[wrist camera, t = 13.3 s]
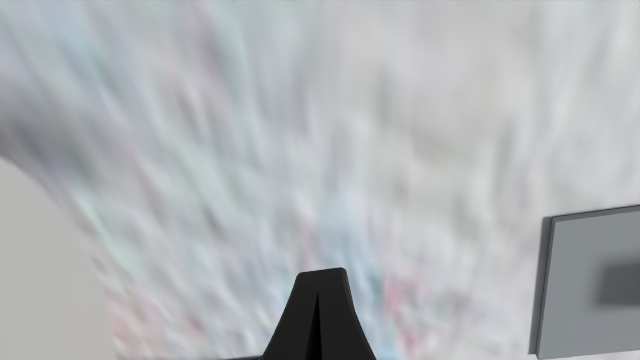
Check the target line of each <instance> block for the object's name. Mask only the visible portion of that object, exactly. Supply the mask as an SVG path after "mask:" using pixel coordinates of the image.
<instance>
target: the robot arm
mask: <svg viewBox="0 0 640 360" xmlns="http://www.w3.org/2000/svg"><path fill="white" fill-rule="evenodd" d="M260 360H376V358H375V356H374V354H373V352H372V349H371V347H370V345H369V343H368V341H367V339H366V337H365V334H364V332H363V330H362V327H361V325H360V322H359V320H358V317H357V315H356V312H355V309H354V305H353V300H352V295H351V291H350V286H349V282H348V277H347V272H346V270H345V269H344V268H342V267H340V268H332V269H325V270H317V271H309V272H301V273H299V274H298V275H297V277H296V280H295V283H294V286H293V289H292V292H291V294H290V297H289V300H288V302H287V305H286V307H285V309H284V312H283V314H282V316H281V319H280V321H279V323H278V325H277V327H276V330H275V332H274V334H273V336H272V338H271V340H270V342H269V344H268V346H267V348H266V350H265V352H264V354H263V356H262V358H261V359H260Z"/></svg>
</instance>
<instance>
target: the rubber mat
mask: <svg viewBox="0 0 640 360" xmlns="http://www.w3.org/2000/svg"><path fill="white" fill-rule="evenodd" d="M633 350H640V206H634V207H626V208H619V209H611V210H604V211H597V212H589V213H582V214H574V215H567V216H559V217H552V225H551V233H550V242H549V250H548V258H547V267H546V275H545V283H544V291H543V300H542V308H541V316H540V324H539V333H538V341H537V349H536V356H537V359H538V360H543V359H553V358H563V357H573V356H583V355H593V354H603V353H613V352H623V351H633Z"/></svg>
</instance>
